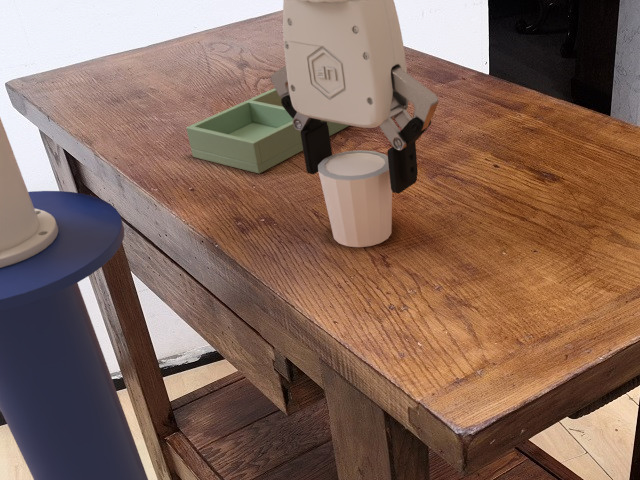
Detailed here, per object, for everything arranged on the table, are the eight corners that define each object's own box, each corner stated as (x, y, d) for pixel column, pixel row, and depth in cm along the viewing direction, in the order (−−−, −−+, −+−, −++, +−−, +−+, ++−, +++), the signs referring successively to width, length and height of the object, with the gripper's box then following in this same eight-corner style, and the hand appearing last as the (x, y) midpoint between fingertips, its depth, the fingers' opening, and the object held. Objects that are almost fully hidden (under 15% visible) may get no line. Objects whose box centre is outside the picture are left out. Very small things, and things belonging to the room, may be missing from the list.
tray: (259, 174, 92) (253, 143, 90) (192, 157, 97) (185, 127, 95) (367, 116, 105) (364, 88, 103) (304, 103, 110) (300, 76, 107)
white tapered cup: (394, 250, 77) (388, 178, 73) (321, 250, 78) (310, 179, 73) (401, 217, 83) (396, 148, 78) (332, 217, 83) (324, 149, 79)
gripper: (223, -26, 67) (264, 176, 78) (398, -10, 60) (416, 212, 70) (284, -45, 72) (314, 148, 83) (453, -32, 64) (462, 179, 75)
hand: (361, 177), depth 77 cm, fingers open, 9 cm apart
